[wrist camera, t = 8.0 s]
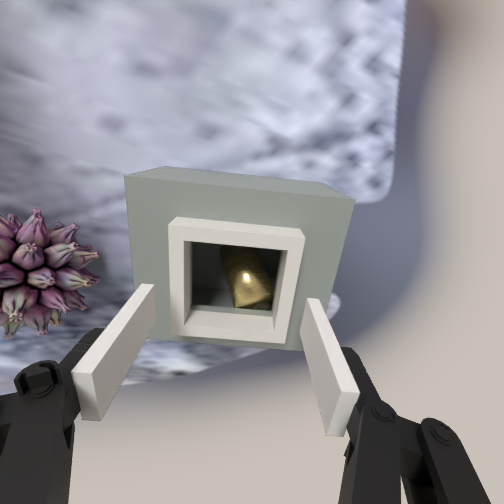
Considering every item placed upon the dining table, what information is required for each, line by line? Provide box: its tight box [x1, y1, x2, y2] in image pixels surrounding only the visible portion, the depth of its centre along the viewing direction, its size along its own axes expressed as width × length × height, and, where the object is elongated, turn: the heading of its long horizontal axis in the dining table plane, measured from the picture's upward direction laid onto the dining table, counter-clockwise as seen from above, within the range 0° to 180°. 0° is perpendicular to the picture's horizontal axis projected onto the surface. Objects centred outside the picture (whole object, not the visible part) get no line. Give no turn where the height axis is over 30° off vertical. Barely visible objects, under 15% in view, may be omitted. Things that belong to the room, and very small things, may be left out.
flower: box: [0, 209, 100, 339], centre depth 23 cm, size 12×12×12 cm
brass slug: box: [220, 244, 274, 310], centre depth 25 cm, size 4×4×6 cm
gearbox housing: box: [124, 166, 355, 351], centre depth 23 cm, size 16×14×11 cm
